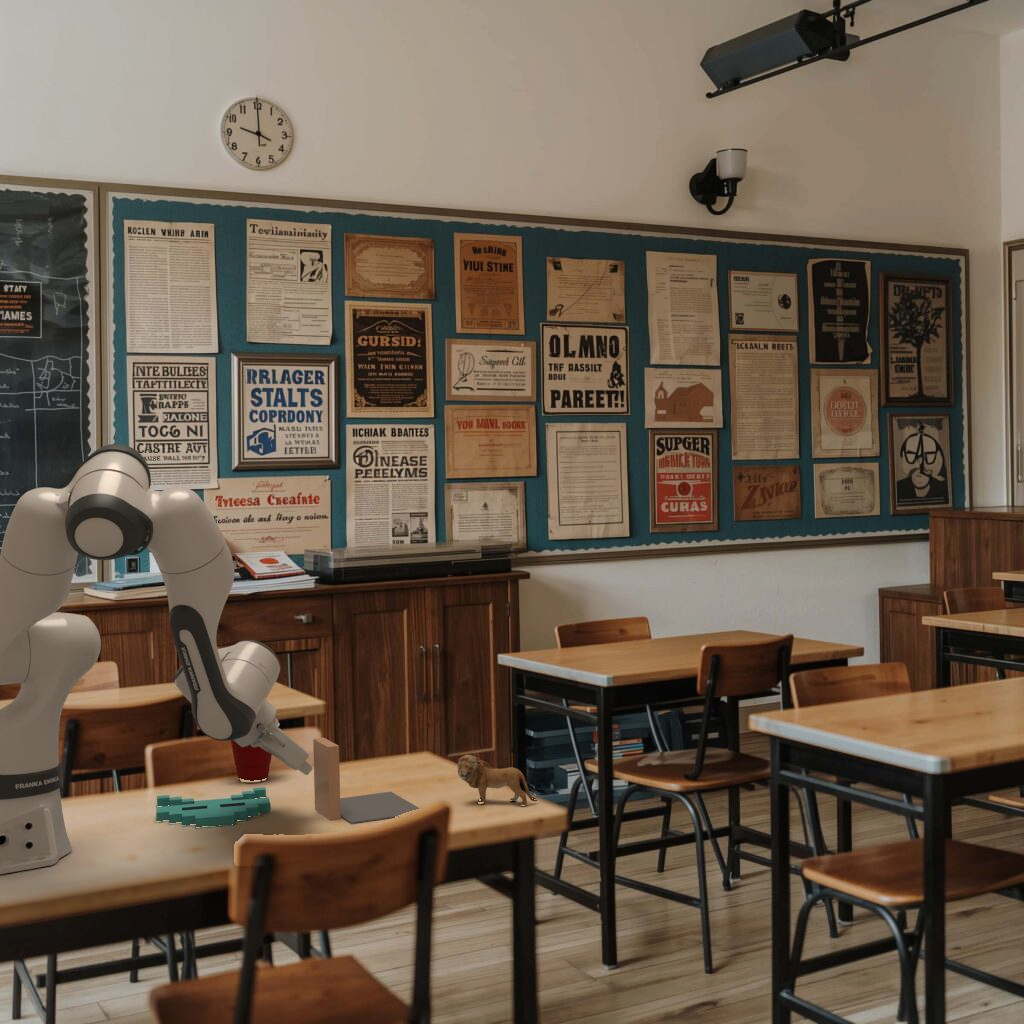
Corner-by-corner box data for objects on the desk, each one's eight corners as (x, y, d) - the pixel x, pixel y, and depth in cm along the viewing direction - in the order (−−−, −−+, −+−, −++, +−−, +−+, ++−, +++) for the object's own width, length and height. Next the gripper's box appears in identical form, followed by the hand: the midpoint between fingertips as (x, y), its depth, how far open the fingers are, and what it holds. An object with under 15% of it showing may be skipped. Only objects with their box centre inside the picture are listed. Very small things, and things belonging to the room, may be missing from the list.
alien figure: (157, 807, 231) (155, 834, 212) (157, 795, 231) (155, 822, 212) (265, 798, 237) (273, 824, 217) (265, 787, 237) (273, 811, 217)
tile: (329, 820, 217) (328, 747, 217) (314, 809, 225) (313, 738, 225) (340, 818, 218) (339, 745, 218) (325, 808, 226) (324, 737, 226)
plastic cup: (267, 787, 244) (266, 727, 244) (217, 785, 246) (216, 725, 246) (289, 775, 255) (288, 717, 254) (241, 773, 257) (240, 716, 257)
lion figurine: (456, 807, 225) (455, 758, 225) (460, 799, 230) (459, 751, 230) (536, 807, 223) (535, 757, 223) (538, 800, 228) (537, 751, 228)
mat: (351, 824, 214) (351, 822, 214) (320, 802, 230) (320, 800, 230) (425, 813, 220) (425, 811, 220) (391, 793, 237) (390, 791, 237)
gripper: (279, 715, 207) (336, 766, 211) (250, 700, 225) (304, 747, 229) (253, 744, 205) (312, 796, 209) (226, 726, 223) (281, 774, 227)
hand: (307, 770), depth 219 cm, fingers closed
